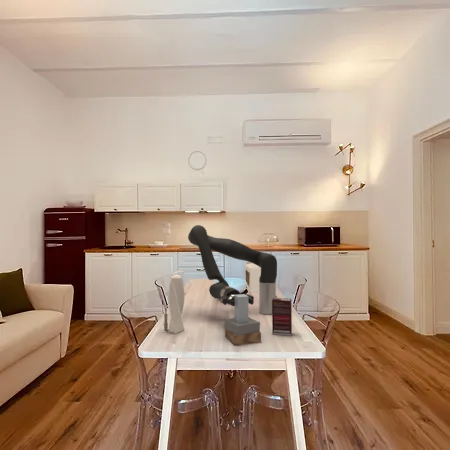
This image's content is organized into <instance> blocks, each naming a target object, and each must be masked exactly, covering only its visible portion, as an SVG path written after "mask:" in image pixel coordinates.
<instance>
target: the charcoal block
mask: <svg viewBox="0 0 450 450" xmlns="http://www.w3.org/2000/svg"><path fill="white" fill-rule="evenodd" d="M260 325H261V323H260V321H258V320H255V319H254V318H252V317H249V316H248V322H243V323H238V322H236V321H235V320H234V317H232V318H226V319H224V330H225V329H227V330H228V331H230V332H232V333H234V334H236V335H237V336H239V335H244V334H250V333H255V332H261V326H260Z"/></svg>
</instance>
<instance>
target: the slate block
mask: <svg viewBox="0 0 450 450" xmlns="http://www.w3.org/2000/svg"><path fill="white" fill-rule="evenodd" d="M248 317H249V303H248V296H247V294H244V293H242V294H241V293H240V295H235V306H234V316H233V318H234V320H235V321H236V322H238V323H243V322H248Z"/></svg>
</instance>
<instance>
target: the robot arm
mask: <svg viewBox="0 0 450 450" xmlns="http://www.w3.org/2000/svg"><path fill="white" fill-rule="evenodd" d="M187 239H188V241H189V243H190V244H192V245H193V246H197V247H198V250H199V252H200V256H201V262H202V266H203V269H204V272H205V275H206V277H207V279H208V280H210V281H213V280H217V281H218V282H216V283H213V284H211V285H210V286H209V288H208V289H209V290H208V292H209V294H210V296H211V297H212V298H214V299H216V300H220V303H222V305H223V306H224V305H225V306H227V305H228V306H232V307H235V295H240V294H241V293H240V291H239V290H238V289H236V288H234V287H232V286H230V284H229V283H228V281H226V279H225V278H224V277H223V275H222V273H221V272H220V269H219V267H218V265H217V262H216V259H215V257H214V254H213V251H214V252H217V253H219V254H222V255H224V256H227V257H229V258H232V259H236V260H239V261H243V262H244V261H245V262H251V263H253V264H255V265H257V266H259V267H261V275H260V277H259V292H258V295H259V296H258V297H259V300H258V302H259V303H258V304H259V307H258V310H259V311H258V312H259V314H261V315H272V299H273V298H278V296H277V292H276V291H277V288H276V287H277V284H276V283H277V275H278V260H277V257H276V256H275V255H273V254H271V253H268V252H262V251H258V250H256V249H252V248H250V247H249V246H247V245H245V244H243V243H242V242H239V241H236V240H233V239H230V238H224V237H223V238H222V237H220V238H219V237H214V236H211V235H208V232H207V229H206V228H205V227H204V226H203V225H199V224H197V225H194V226H193V227H192V228H191V229H190V231H189V233H188V236H187ZM246 295H247V296H248V305H249V304H250V305H251V306H252V305H254V302H255V300H254V298H255V297H254V295H251V294H248V293H247V294H246Z"/></svg>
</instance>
